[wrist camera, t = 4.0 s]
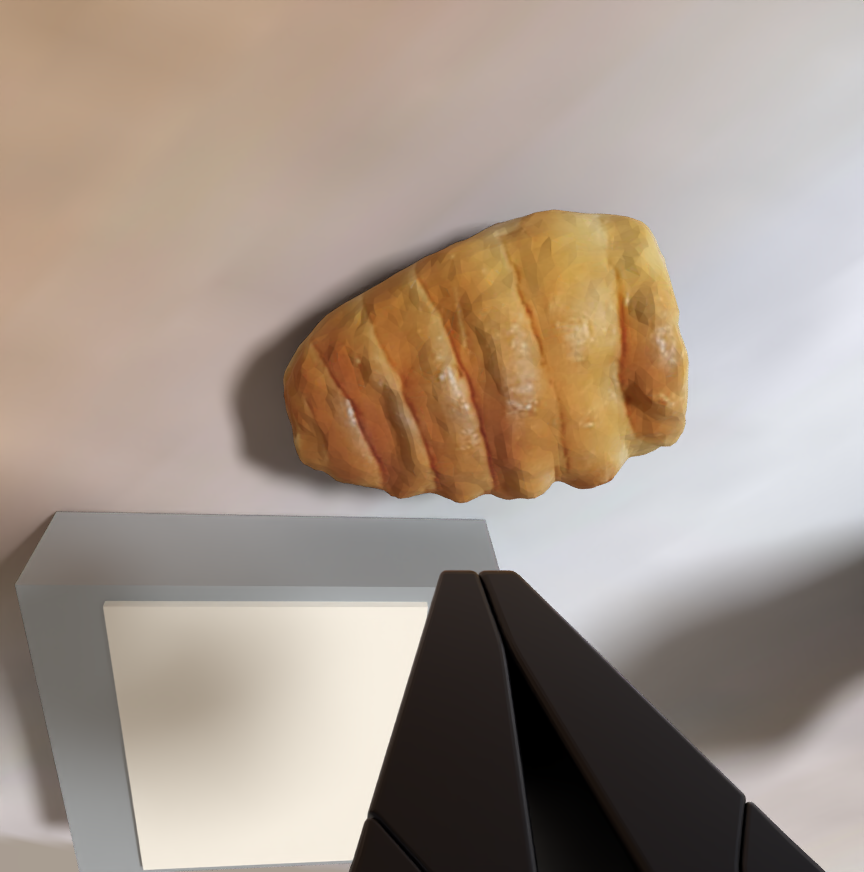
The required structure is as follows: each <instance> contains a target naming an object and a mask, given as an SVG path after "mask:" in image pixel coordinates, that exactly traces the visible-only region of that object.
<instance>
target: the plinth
mask: <svg viewBox="0 0 864 872" xmlns="http://www.w3.org/2000/svg"><path fill="white" fill-rule="evenodd" d="M444 570H472V571H474V572H476V573H477V574H479V573H480V572H482V571H484V570H499V566H498V563H497V559H496V556H495V552H494V549H493V545H492V542H491V538H490V535H489V531H488V528H487V524H486V521H485V520H467V519H415V518H363V517H311V516H259V515H207V514H154V513H102V512H56V513H55V515H54V517H53V519H52V520H51V522H50V524H49V526H48V527H47V529H46V531H45V533H44V534H43V536H42V538H41V540H40V541H39V543H38V545H37V547H36V548H35V550H34V552H33V554H32V555H31V557H30V559H29V561H28V562H27V564H26V566H25V568H24V569H23V571H22V573H21V575H20V576H19V578H18V580H17V582H16V583H15V588H16V592H17V597H18V601H19V606H20V610H21V615H22V619H23V623H24V628H25V632H26V637H27V641H28V646H29V650H30V655H31V659H32V663H33V668H34V672H35V677H36V681H37V686H38V690H39V694H40V699H41V703H42V708H43V712H44V717H45V721H46V725H47V730H48V734H49V739H50V743H51V748H52V752H53V757H54V761H55V765H56V770H57V774H58V779H59V783H60V788H61V792H62V796H63V801H64V805H65V810H66V814H67V819H68V823H69V828H70V832H71V836H72V841H73V845H74V850H75V854H76V858H77V863H78V867H79V872H175V871H197V870H218V869H239V868H260V867H282V866H303V865H324V864H345V863H352V861H353V858H354V854H355V851H356V848H357V844H358V841H359V838H360V835H361V831H362V828H363V825H364V822H365V820H366V819H367V814H368V810H369V807H370V803H371V800H372V797H373V793H374V790H375V787H376V783H377V780H378V777H379V774H380V770H381V767H382V764H383V760H384V757H385V754H386V750H387V747H388V744H389V741H390V737H391V734H392V731H393V727H394V724H395V721H396V717H397V714H398V711H399V708H400V704H401V701H402V698H403V694H404V691H405V688H406V684H407V681H408V678H409V675H410V671H411V668H412V665H413V661H414V658H415V655H416V651H417V648H418V645H419V641H420V638H421V635H422V632H423V628H424V625H425V622H426V618H427V615H428V612H429V608H430V605H431V602H432V599H433V595H434V592H435V589H436V585H437V582H438V579H439V576H440V574H441V572H443V571H444Z"/></svg>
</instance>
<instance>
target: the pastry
mask: <svg viewBox="0 0 864 872" xmlns="http://www.w3.org/2000/svg"><path fill="white" fill-rule="evenodd" d="M678 321H679V309H678V306H677V303H676V299H675V296H674V292H673V288H672V285H671V281H670V278H669V274H668V271H667V268H666V264H665V259H664V257H663V255H662V254H661V252H660V249H659V247H658V244H657V241H656V239H655V237H654V235H653V234H652V232H651V231H650V229H649V228H648V227H647V226H646V225H645V224H644V223H643V222H641V221H638V220H635V219H633V218H630V217H626V216H619V215H611V214H586V213H578V212H569V211H561V210H549V211H542V212H536V213H533V214H530V215H527V216H524V217H520V218H516V219H512V220H509V221H506V222H502V223H497V224H494V225H492V226H490V227H488V228H486V229H485V230H483V231H481V232H479V233H477V234H476V235H474V236H472V237H470V238H468V239H466V240H463V241H459V242H456V243H454V244H452V245H450V246H448V247H447V248H445V249H443V250H440V251H438V252H436V253H434V254H431V255H429V256H426V257H424V258H422V259H421V260H419V261H417V262H416V263H414V264H412V265H411V266H409V267H407V268H405V269H403V270H401V271H399V272H398V273H396V274H394V275H393V276H391V277H390V278H388V279H386V280H385V281H383V282H382V283H380V284H378V285H376V286H374V287H373V288H371V289H369V290H367V291H366V292H364V293H362V294H360V295H358V296H357V297H355V298H353V299H351V300H349V301H348V302H346V303H344V304H342V305H341V306H339V307H338V308H336V309H335V310H333V311H332V312H330V313H329V314H327V315H326V316H325V317H324V318H323V319H322V320H321V321H320V322H319V323H318V324H317V326H316V327H315V328H314V329H313V331H312V332H311V333H310V334H309V335H308V337H307V338H306V339H305V340H304V341H303V342H302V343H301V344H300V345H299V347H298V348H297V350H296V352H295V354H294V355H293V357H292V359H291V361H290V362H289V364H288V366H287V368H286V370H285V373H284V378H283V384H284V398H285V405H286V411H287V414H288V417H289V420H290V423H291V425H292V430H293V437H294V444H295V448H296V451H297V454H298V456H299V458H300V460H301V461H302V463H303V464H305V465H307V466H309V467H311V468H313V469H314V470H320V471H323V472H325V473H327V474H328V475H330V476H331V477H333V478H334V479H335V480H336V481H339V482H342V483H350V484H355V485H361V486H365V487H372V488H377V489H381V490H384V491H386V492H387V493H389V494H390V495H391V496H394V497H397V498H400V499H402V498H409V497H412V496H415V495H419V494H423V493H435V494H438V495H441V496H443V497H445V498H448V499H451V500H453V501H455V502H458V503H465V502H468V501H470V500H472V499H474V498H476V497H478V496H481V495H483V494H492V495H494V496H496V497H499V498H502V499H506V500H511V499H516V498H525V499H532V498H536V497H538V496H540V495H542V494H543V493H544V492H545V491H546V490H547V489H548V488H549V487H550V486H551V484H552V483H554V482H555V481H561V482H564V483H566V484H568V485H570V486H573V487H575V488H578V489H589V488H594V487H596V486H599V485H602V484H604V483H607V482H609V481H611V480H612V479H613V478H614V476H615V475H616V474H617V472H618V471H619V470H620V468H621V467H622V465H623V464H624V463H625V461H626V460H627V459H628V458H630V457H633V456H640V455H644V454H647V453H649V452H651V451H654V450H656V449H657V448H659V447H661V446H671V445H673V444H674V443H675V442H677V440H678V438H679V437H680V435H681V434H682V433H683V430H684V427H685V424H686V423H685V421H686V420H685V414H686V408H687V397H688V364H689V362H688V355H687V351H686V347H685V344H684V341H683V339H682V337H681V334H680V330H679V326H678Z"/></svg>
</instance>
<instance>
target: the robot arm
mask: <svg viewBox="0 0 864 872" xmlns="http://www.w3.org/2000/svg"><path fill="white" fill-rule="evenodd" d="M745 802H746V798H745V795H744V794H743V793H742V792H741V791H740V790H739V789H738V788H737V787H736V786H735V785H734V784H733V783H732V782H731V781H730V780H729V779H728V778H727V777H726V776H725V775H724V774H723V773H722V772H721V771H720V770H719V769H718V768H717V767H716V766H715V765H713V764H712V763H711V762H710V761H709V760H708V759H707V758H706V757H705V756H704V755H703V754H702V753H701V752H700V751H699V750H698V749H697V748H696V747H695V746H694V745H693V744H692V743H691V742H690V741H689V740H688V739H687V738H686V737H685V736H684V735H683V734H682V733H681V732H680V731H679V730H678V729H677V728H676V727H675V726H673V725H672V724H671V723H670V722H669V721H668V720H667V719H666V718H665V717H664V716H663V715H662V714H661V713H660V712H659V711H658V710H657V709H656V708H655V707H654V706H653V705H652V704H651V703H650V702H649V701H648V700H647V699H646V698H645V697H644V696H643V695H642V694H641V693H640V692H639V691H638V690H637V689H636V688H635V687H633V686H632V685H631V684H630V683H629V682H628V681H627V680H626V679H625V678H624V677H623V676H622V675H621V674H620V673H619V672H618V671H617V670H616V669H615V668H614V667H613V666H612V665H611V664H610V663H609V662H608V661H607V660H606V659H605V658H604V657H603V656H602V655H601V654H600V653H599V652H598V651H597V650H596V649H595V648H593V647H592V646H591V645H590V644H589V643H588V642H587V641H586V640H585V639H584V638H583V637H582V636H581V635H580V634H579V633H578V632H577V631H576V630H575V629H574V628H573V627H572V626H571V625H570V624H569V623H568V622H567V621H566V620H565V619H564V618H563V617H562V616H561V615H560V614H559V613H558V612H557V611H556V610H555V609H553V608H552V607H551V606H550V605H549V604H548V603H547V602H546V601H545V600H544V599H543V598H542V597H541V596H540V595H539V594H538V593H537V592H536V591H535V590H534V589H533V588H532V587H531V586H530V585H529V584H528V583H527V582H526V581H525V580H524V579H523V578H522V577H521V576H520V575H518V574H517V573H516V572H514V571H505V570H484V571H482V572H480V573H479V574H477V573H476V572H474V571H472V570H444V571H443V572H441V574H440V576H439V579H438V582H437V585H436V589H435V592H434V595H433V599H432V602H431V605H430V608H429V612H428V615H427V618H426V622H425V625H424V628H423V632H422V635H421V638H420V641H419V645H418V648H417V651H416V655H415V658H414V661H413V665H412V668H411V671H410V675H409V678H408V681H407V684H406V688H405V691H404V694H403V698H402V701H401V704H400V708H399V711H398V714H397V717H396V721H395V724H394V727H393V731H392V734H391V737H390V741H389V744H388V747H387V750H386V754H385V757H384V760H383V764H382V767H381V770H380V774H379V777H378V780H377V783H376V787H375V790H374V793H373V797H372V800H371V803H370V807H369V810H368V814H367V819H366V820H365V822H364V825H363V828H362V831H361V835H360V838H359V841H358V844H357V848H356V851H355V854H354V858H353V861H352V864H351V867H350V870H349V872H825V871H824V870H823V869H822V868H821V867H820V866H819V865H818V864H817V863H816V862H815V861H814V860H812V859H811V858H810V857H809V856H808V855H807V854H806V853H805V852H804V851H803V850H802V849H801V848H800V847H799V846H798V845H796V844H795V843H794V842H793V841H792V840H791V839H790V838H789V837H788V836H787V835H786V834H785V833H784V832H783V831H782V830H781V829H780V828H779V827H778V826H776V825H775V824H774V823H773V822H772V821H771V820H770V819H769V818H768V817H767V816H766V815H765V814H764V813H763V812H762V811H761V810H760V809H759V808H758V807H757V806H756V805H755V804H754V803H752V802H747V803H746V804H745Z"/></svg>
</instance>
